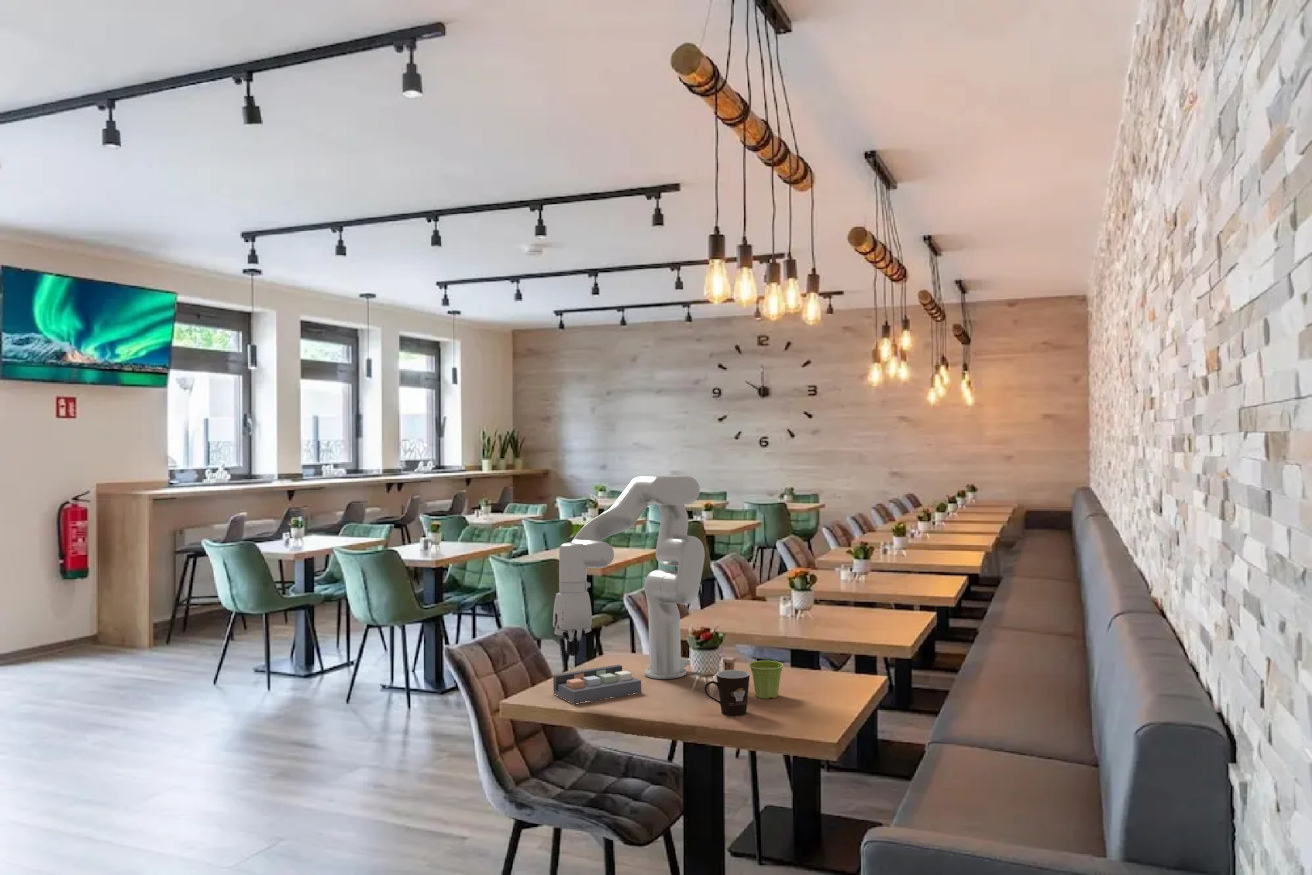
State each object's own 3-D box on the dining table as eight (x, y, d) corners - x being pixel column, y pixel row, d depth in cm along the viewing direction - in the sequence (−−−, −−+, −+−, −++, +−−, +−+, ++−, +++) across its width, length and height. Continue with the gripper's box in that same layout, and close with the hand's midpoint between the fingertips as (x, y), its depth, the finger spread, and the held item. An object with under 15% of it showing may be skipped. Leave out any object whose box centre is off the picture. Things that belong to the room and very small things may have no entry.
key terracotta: (578, 686, 263) (578, 678, 263) (584, 689, 260) (584, 680, 260) (566, 688, 261) (566, 680, 261) (572, 691, 258) (572, 682, 258)
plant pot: (788, 693, 262) (787, 662, 262) (778, 702, 253) (777, 669, 253) (756, 690, 266) (755, 659, 266) (745, 698, 257) (744, 666, 257)
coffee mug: (750, 708, 248) (749, 670, 248) (750, 717, 239) (749, 678, 239) (706, 707, 249) (705, 669, 249) (704, 717, 240) (703, 678, 241)
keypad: (619, 683, 277) (618, 664, 277) (641, 692, 266) (641, 673, 266) (553, 694, 266) (553, 674, 266) (573, 704, 255) (573, 684, 255)
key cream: (625, 678, 271) (625, 670, 271) (631, 681, 268) (631, 673, 268) (614, 680, 269) (614, 672, 269) (620, 683, 266) (620, 674, 266)
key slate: (594, 684, 266) (594, 675, 266) (600, 686, 263) (600, 678, 263) (583, 686, 264) (582, 677, 264) (588, 688, 261) (588, 680, 261)
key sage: (610, 681, 268) (610, 673, 268) (616, 684, 265) (616, 675, 265) (599, 683, 266) (598, 674, 266) (605, 686, 263) (604, 677, 263)
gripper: (590, 584, 268) (591, 649, 267) (542, 588, 260) (542, 655, 260) (603, 587, 261) (603, 654, 261) (553, 591, 254) (553, 660, 253)
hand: (573, 654), depth 260 cm, fingers closed
